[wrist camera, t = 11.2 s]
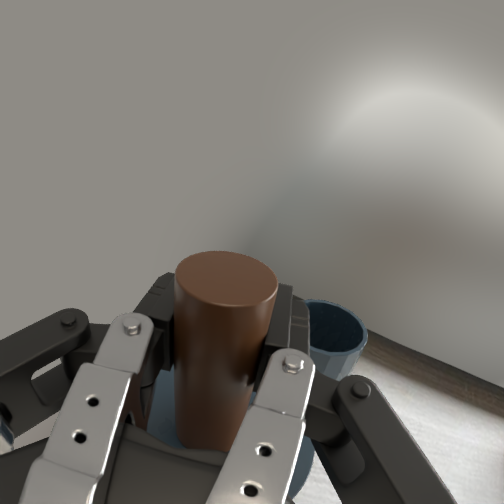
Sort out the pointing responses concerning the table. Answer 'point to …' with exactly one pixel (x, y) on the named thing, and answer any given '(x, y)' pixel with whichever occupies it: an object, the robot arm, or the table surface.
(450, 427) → the table surface
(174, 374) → the lid
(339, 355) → the pot
